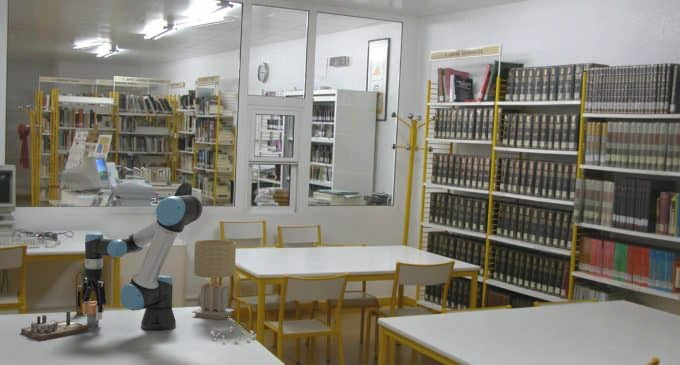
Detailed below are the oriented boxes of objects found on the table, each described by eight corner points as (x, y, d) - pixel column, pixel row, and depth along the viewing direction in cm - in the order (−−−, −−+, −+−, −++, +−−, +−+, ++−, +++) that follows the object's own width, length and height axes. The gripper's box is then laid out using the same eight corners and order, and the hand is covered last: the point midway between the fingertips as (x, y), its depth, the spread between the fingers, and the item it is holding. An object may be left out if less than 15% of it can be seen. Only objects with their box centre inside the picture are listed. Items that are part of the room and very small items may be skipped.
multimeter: (91, 317, 351) (92, 274, 350) (72, 315, 353) (72, 273, 352) (107, 310, 365) (107, 269, 364) (88, 308, 367) (89, 268, 366)
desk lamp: (241, 313, 368) (242, 241, 366) (222, 321, 350) (223, 246, 348) (205, 309, 374) (207, 238, 372) (185, 317, 356) (186, 243, 354)
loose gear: (107, 312, 336) (107, 303, 336) (89, 315, 329) (89, 306, 329) (96, 308, 342) (96, 300, 341) (78, 311, 335) (78, 302, 335)
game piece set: (201, 341, 316) (201, 332, 316) (224, 330, 335) (225, 322, 335) (242, 347, 310) (243, 338, 310) (264, 335, 328) (264, 327, 328)
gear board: (88, 331, 325) (88, 313, 325) (40, 340, 308) (40, 321, 308) (68, 324, 336) (69, 306, 335) (21, 333, 319) (21, 314, 318)
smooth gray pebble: (100, 325, 336) (101, 312, 336) (90, 327, 332) (91, 313, 332) (94, 323, 339) (94, 310, 339) (84, 325, 335) (84, 311, 335)
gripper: (72, 265, 338) (72, 314, 340) (99, 271, 324) (99, 323, 326) (87, 263, 344) (87, 312, 345) (115, 270, 330) (114, 320, 331)
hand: (92, 317), depth 336 cm, fingers closed on loose gear, 9 cm apart
